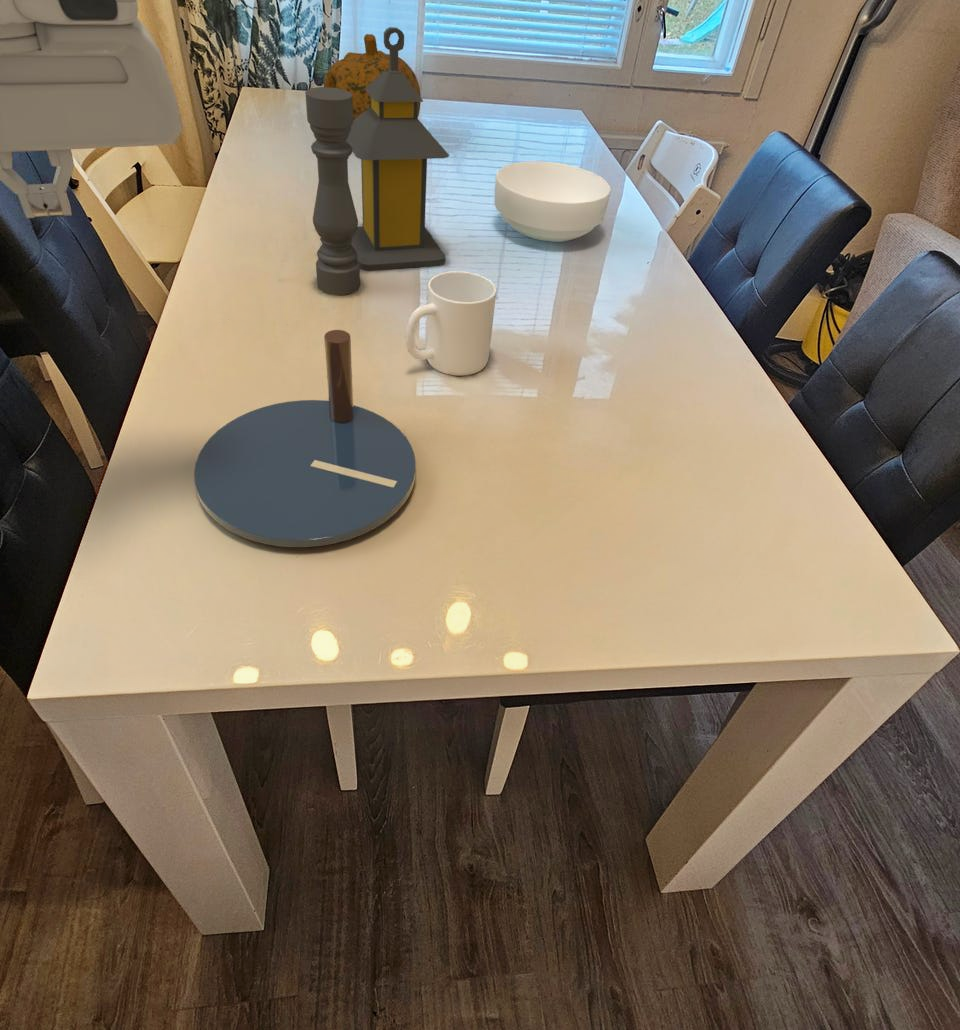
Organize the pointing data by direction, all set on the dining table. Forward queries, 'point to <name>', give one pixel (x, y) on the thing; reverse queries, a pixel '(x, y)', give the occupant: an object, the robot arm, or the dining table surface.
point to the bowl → (550, 199)
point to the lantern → (394, 173)
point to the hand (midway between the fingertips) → (49, 214)
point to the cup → (455, 323)
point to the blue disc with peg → (307, 466)
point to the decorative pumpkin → (365, 74)
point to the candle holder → (333, 190)
